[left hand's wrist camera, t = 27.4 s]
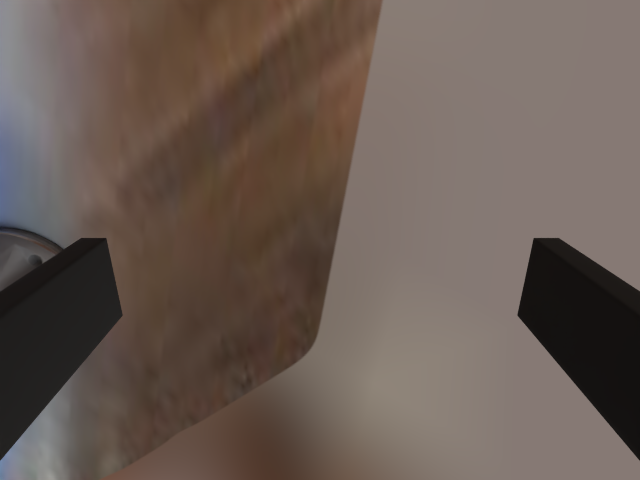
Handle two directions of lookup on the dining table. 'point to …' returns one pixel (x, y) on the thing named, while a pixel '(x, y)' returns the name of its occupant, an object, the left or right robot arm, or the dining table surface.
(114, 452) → the dining table surface
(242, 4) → the dining table surface
